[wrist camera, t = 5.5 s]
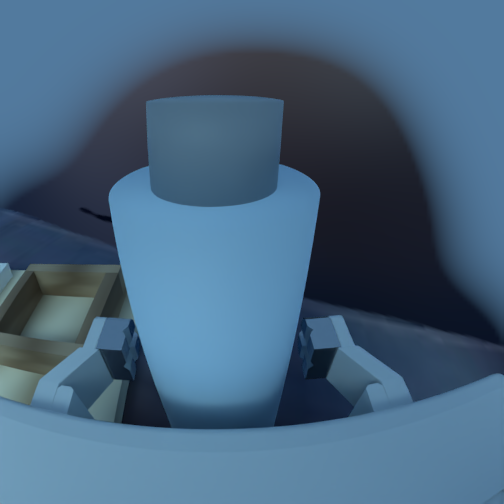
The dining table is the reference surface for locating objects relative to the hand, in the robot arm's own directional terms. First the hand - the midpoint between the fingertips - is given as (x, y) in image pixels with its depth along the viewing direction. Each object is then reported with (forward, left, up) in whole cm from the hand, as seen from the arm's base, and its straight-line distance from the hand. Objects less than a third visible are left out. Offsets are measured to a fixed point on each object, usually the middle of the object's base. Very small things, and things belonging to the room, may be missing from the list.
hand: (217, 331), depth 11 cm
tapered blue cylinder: (0, -1, -8) cm, 8 cm away
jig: (-17, +6, -8) cm, 20 cm away
